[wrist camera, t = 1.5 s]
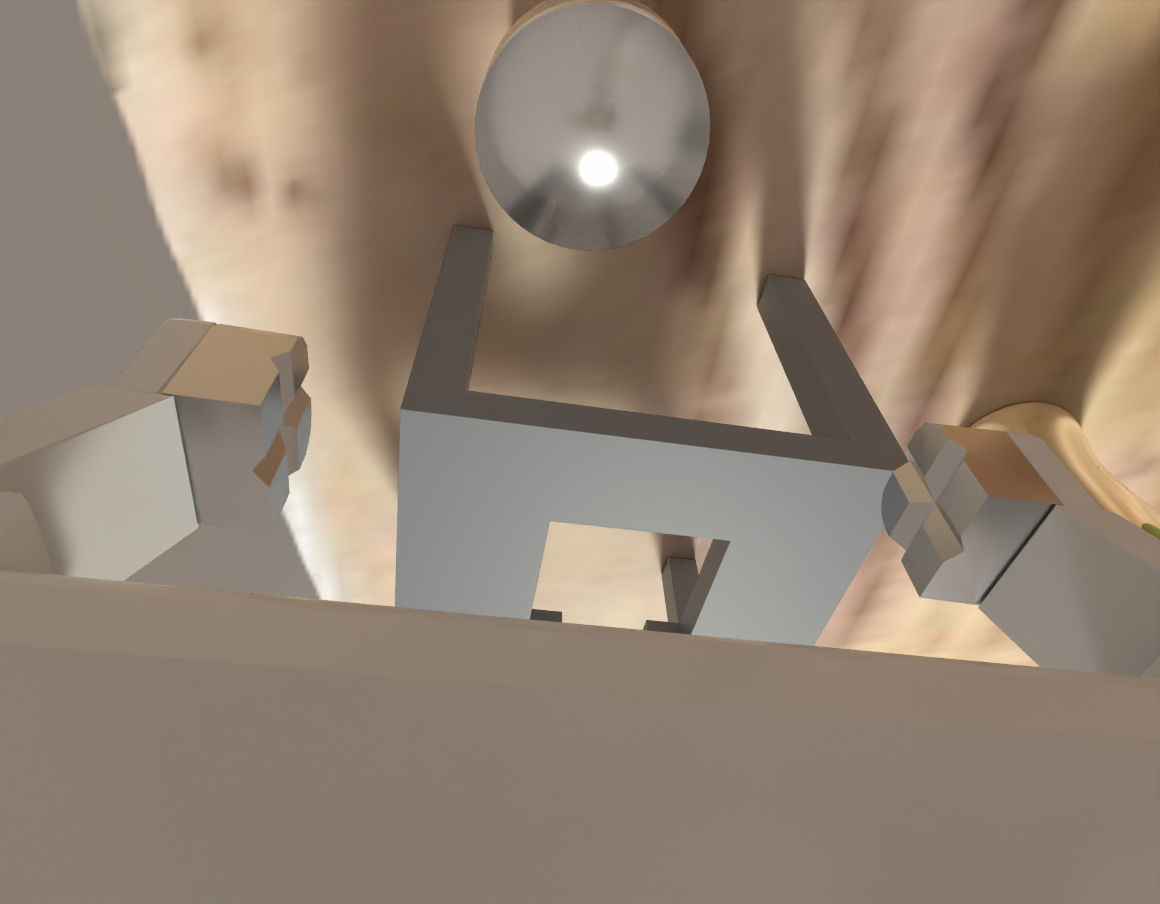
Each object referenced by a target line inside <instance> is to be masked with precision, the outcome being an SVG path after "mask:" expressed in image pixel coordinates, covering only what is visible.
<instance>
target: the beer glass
mask: <svg viewBox="0 0 1160 904" xmlns="http://www.w3.org/2000/svg"><path fill="white" fill-rule="evenodd" d="M969 428H979V429H988V430H998V431H1009V432H1019V433H1030V434H1032V435H1035V436H1037V437H1039V438H1041V439H1042V440H1043V441H1044V442H1045V443H1046V444H1047V446H1048V447H1049V448H1050V449H1051V450H1052V451H1053V453H1054V454H1055V455H1056V456H1057V457H1058V458H1059V460H1060V461H1061V462H1062V463H1063V464H1064V465H1065V467H1066V468H1067V469H1068V470H1069V471H1070V472H1071V474H1072V475H1073V476H1074V477H1075V478H1076V479H1077V481H1078V482H1079V483H1080V484H1081V485H1082V486H1083V488H1084V489H1085V490H1086V491H1087V492H1088V493H1089V495H1090V496H1091V497H1092V498H1093V499H1094V500H1095V501H1096V503H1097V504H1098V505H1099V506H1100V507H1101V508H1102V510H1103V511H1107V512H1114V513H1116V514H1118V515H1119V516H1121V517H1123V518H1125V519H1126V520H1128V521H1130V522H1131V523H1133V524H1135V525H1136V526H1138V527H1140V528H1141V529H1143V530H1145V531H1147V532H1148V533H1150V534H1152V535H1153V536H1155V537H1157V538H1158V539H1160V512H1159V511H1158V510H1156V509H1155V508H1154V507H1152V506H1151V505H1150V504H1148V503H1147V502H1145V501H1144V500H1143V499H1141V498H1140V497H1139V496H1137V495H1136V494H1135V493H1133V492H1132V491H1131V490H1129V489H1128V488H1127V487H1126V486H1124V485H1123V484H1122V483H1120V482H1119V481H1118V480H1117V479H1116V478H1115V477H1114V476H1113V475H1112V474H1111V473H1110V472H1108V471H1107V470H1106V469H1105V467H1104V466H1103V465H1102V464H1101V462H1100V461H1099V460H1098V458H1097V457H1096V455H1095V454H1094V452H1093V450H1092V448H1091V446H1090V444H1089V442H1088V440H1087V438H1086V437H1085V435H1084V433H1083V431H1082V429H1081V427H1080V425H1079V424H1078V422H1077V421H1076V420H1075V418H1074V417H1073V416H1072V415H1071V414H1070V413H1069V412H1067V411H1066V410H1064V409H1063V408H1061V407H1058V406H1056V405H1053V404H1049V403H1040V402H1031V403H1022V404H1016V405H1012V406H1008V407H1005V408H1002V409H999V410H997V411H995V412H992V413H990V414H988V415H986V416H985V417H983V418H981V419H980V420H978V421H977V422H975V423H974V424H973V425H971V426H970V427H969Z"/></svg>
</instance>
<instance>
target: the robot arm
mask: <svg viewBox="0 0 1160 904" xmlns="http://www.w3.org/2000/svg"><path fill="white" fill-rule="evenodd" d="M308 369H309V363H308V351H307V344H306V342H305V340H304V338H303V337H301V336H294V335H288V334H281V333H275V332H269V331H262V330H256V329H249V328H243V327H236V326H230V325H223V324H218V325H217V324H216V323H214V322H205V321H197V320H188V319H180V318H173V319H168V320H166V321H165V322H164V323H163V325H162V326H161V327H160V328H159V329H158V330H157V331H156V333H155V334H154V335H153V336H152V337H151V338H150V339H149V341H148V342H147V343H146V344H145V345H144V346H143V347H142V348H141V350H140V351H139V352H138V353H137V354H136V355H135V356H134V358H133V359H132V360H131V361H130V362H129V363H128V364H127V366H126V367H125V368H124V369H123V370H122V371H121V372H120V374H119V375H118V376H117V377H116V378H115V379H114V380H113V382H112V383H111V384H110V385H109V386H108V387H107V388H106V387H98V386H91V387H89V388H86V389H83V390H80V391H77V392H74V393H72V394H69V395H66V396H63V397H60V398H57V399H55V400H52V401H49V402H46V403H43V404H40V405H37V406H35V407H32V408H29V409H26V410H24V411H21V412H18V413H15V414H12V415H9V416H6V417H3V418H1V419H0V904H1160V539H1158V538H1157V537H1155V536H1153V535H1152V534H1150V533H1148V532H1147V531H1145V530H1143V529H1141V528H1140V527H1138V526H1136V525H1135V524H1133V523H1131V522H1130V521H1128V520H1126V519H1125V518H1123V517H1121V516H1119V515H1118V514H1116V513H1114V512H1107V511H1103V510H1102V508H1101V507H1100V506H1099V505H1098V504H1097V503H1096V501H1095V500H1094V499H1093V498H1092V497H1091V496H1090V495H1089V493H1088V492H1087V491H1086V490H1085V489H1084V488H1083V486H1082V485H1081V484H1080V483H1079V482H1078V481H1077V479H1076V478H1075V477H1074V476H1073V475H1072V474H1071V472H1070V471H1069V470H1068V469H1067V468H1066V467H1065V465H1064V464H1063V463H1062V462H1061V461H1060V460H1059V458H1058V457H1057V456H1056V455H1055V454H1054V453H1053V451H1052V450H1051V449H1050V448H1049V447H1048V446H1047V444H1046V443H1045V442H1044V441H1043V440H1042V439H1041V438H1039V437H1037V436H1035V435H1032V434H1030V433H1019V432H1009V431H998V430H988V429H979V428H969V427H960V426H951V425H942V424H932V423H925V424H924V425H923V426H921V427H920V428H919V429H918V430H917V431H916V432H915V433H914V435H913V437H912V439H911V440H910V442H909V444H908V445H907V450H908V454H909V458H910V461H909V462H907V463H906V464H904V465H902V466H901V467H899V468H898V469H896V470H895V471H893V472H892V474H891V476H890V478H889V480H888V482H887V484H886V486H885V488H884V490H883V497H882V504H881V513H882V519H883V524H884V526H885V528H886V530H887V533H888V535H889V537H890V538H892V539H893V540H894V541H895V542H897V543H898V544H899V545H900V546H902V547H903V548H904V549H905V553H904V555H903V557H902V560H901V561H902V563H903V565H904V567H905V569H906V571H907V573H908V575H909V577H910V579H911V581H912V583H913V585H914V587H915V589H916V591H917V593H918V595H919V597H920V598H928V599H935V600H943V601H951V602H958V603H966V604H973V605H980V606H979V607H978V608H979V609H980V610H981V611H982V612H983V613H984V614H985V615H986V616H987V617H988V618H989V619H990V620H991V621H992V622H993V623H995V624H996V625H997V626H998V627H999V628H1000V629H1001V630H1002V631H1003V632H1004V633H1005V634H1006V635H1007V636H1008V637H1009V638H1010V639H1011V640H1012V641H1013V642H1014V643H1015V644H1017V645H1018V646H1019V647H1020V648H1021V649H1022V650H1023V651H1024V652H1025V653H1026V654H1027V655H1028V656H1029V657H1030V658H1031V659H1032V660H1033V661H1034V662H1035V663H1036V664H1038V665H1039V666H1040V667H1031V666H1020V665H1010V664H999V663H989V662H978V661H967V660H957V659H946V658H936V657H925V656H914V655H904V654H893V653H883V652H872V651H861V650H851V649H840V648H830V647H819V646H808V645H797V644H787V643H776V642H765V641H754V640H743V639H732V638H721V637H710V636H700V635H689V634H679V633H668V632H657V631H647V630H636V629H626V628H615V627H604V626H594V625H583V624H572V623H562V622H551V621H541V620H530V619H519V618H509V617H498V616H488V615H477V614H466V613H456V612H445V611H434V610H424V609H413V608H403V607H392V606H381V605H371V604H360V603H350V602H339V601H328V600H318V599H307V598H296V597H286V596H275V595H265V594H254V593H243V592H232V591H222V590H221V591H220V590H212V589H201V588H190V587H180V586H169V585H158V584H147V583H137V582H127V581H124V580H125V579H126V578H128V577H129V576H131V575H132V574H134V573H135V572H136V571H138V570H139V569H141V568H142V567H143V566H145V565H146V564H147V563H149V562H150V561H152V560H153V559H154V558H156V557H157V556H159V555H160V554H162V553H163V552H165V551H166V550H167V549H168V548H170V547H172V546H173V545H174V544H176V543H177V542H178V541H180V540H181V539H183V538H184V537H186V536H187V535H189V534H190V533H191V532H193V531H194V530H196V529H197V528H198V524H205V525H218V526H231V527H243V528H256V529H269V530H273V529H274V527H275V524H276V522H277V520H278V518H279V516H280V513H281V511H282V509H283V506H284V504H285V502H286V500H287V497H288V495H289V479H288V475H290V474H292V473H294V472H295V471H297V470H299V469H300V467H301V465H302V462H303V460H304V457H305V455H306V451H307V446H308V441H309V436H310V430H311V398H310V397H309V396H308V394H307V393H306V392H305V391H304V390H303V388H302V387H301V384H302V382H303V380H304V378H305V376H306V374H307V371H308Z"/></svg>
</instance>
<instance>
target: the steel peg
mask: <svg viewBox="0 0 1160 904" xmlns="http://www.w3.org/2000/svg"><path fill="white" fill-rule="evenodd" d="M709 138H710V111H709V105H708V99H707V94H706V91H705V88H704V85H703V81H702V78H701V76H700V74H699V72H698V70H697V68H696V66H695V64H694V62H693V61H692V59H691V57H690V56H689V54H688V53H687V51H686V50H685V48H684V46H683V45H682V43H681V42H680V40H679V39H678V37H677V36H676V34H675V32H674V31H673V30H672V29H671V28H670V26H669V25H668V24H667V23H666V22H665V21H664V20H663V19H662V18H661V17H660V16H659V15H658V14H657V13H655V12H654V11H653V10H652V9H650V8H649V7H647V6H646V5H644V4H643V3H641V2H639V1H637V0H545V1H543V2H541V3H539V4H538V5H536V6H535V7H533V8H532V9H531V10H529V11H528V12H526V13H525V14H524V15H523V16H522V17H521V18H520V19H519V20H518V21H517V22H516V23H514V24H513V26H512V27H511V28H510V29H509V31H508V32H507V33H506V35H505V36H504V37H503V39H502V40H501V42H500V44H499V46H498V47H497V49H496V51H495V53H494V55H493V58H492V60H491V63H490V65H489V68H488V71H487V74H486V77H485V79H484V82H483V85H482V89H481V92H480V96H479V99H478V103H477V110H476V117H475V140H476V149H477V154H478V158H479V163H480V167H481V169H482V172H483V175H484V177H485V180H486V182H487V184H488V186H489V188H490V190H491V192H492V194H493V195H494V197H495V198H496V200H497V201H498V203H499V204H500V205H501V207H502V208H503V209H504V210H505V211H506V212H507V214H508V215H509V216H510V217H511V218H512V219H513V220H514V221H516V222H517V223H518V224H519V225H520V226H521V227H523V228H524V229H526V230H527V231H529V232H530V233H532V234H533V235H535V236H537V237H539V238H541V239H543V240H545V241H547V242H549V243H552V244H555V245H558V246H561V247H566V248H570V249H576V250H587V251H588V250H605V249H611V248H617V247H620V246H624V245H627V244H630V243H632V242H635V241H637V240H639V239H642V238H643V237H645V236H647V235H649V234H650V233H652V232H654V231H655V230H657V229H658V228H659V227H661V226H662V225H663V224H665V223H666V222H667V221H668V220H669V219H670V218H671V217H672V216H673V215H674V214H675V213H676V212H677V211H678V210H679V209H680V207H681V206H682V205H683V204H684V203H685V201H686V200H687V198H688V197H689V195H690V194H691V192H692V191H693V189H694V187H695V185H696V183H697V181H698V179H699V177H700V175H701V172H702V169H703V166H704V163H705V160H706V156H707V151H708V146H709Z"/></svg>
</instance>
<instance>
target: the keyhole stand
mask: <svg viewBox="0 0 1160 904" xmlns="http://www.w3.org/2000/svg"><path fill="white" fill-rule="evenodd" d="M492 238H493V231H490V230H484V229H478V228H471V227H465V226H458V225H453V228H452V232H451V235H450V239H449V242H448V246H447V249H446V253H445V256H444V260H443V263H442V267H441V270H440V274H439V277H438V280H437V284H436V287H435V291H434V294H433V298H432V301H431V305H430V308H429V312H428V315H427V319H426V322H425V326H424V329H423V333H422V336H421V339H420V343H419V346H418V350H417V353H416V357H415V360H414V364H413V367H412V371H411V374H410V378H409V381H408V385H407V388H406V392H405V395H404V398H403V402H402V405H401V409H400V442H399V478H398V514H397V550H396V586H395V607H403V608H413V609H424V610H434V611H445V612H456V613H466V614H477V615H488V616H498V617H509V618H519V619H530V620H541V621H551V622H562V612H557V611H547V610H536V609H532V606H533V601H534V596H535V592H536V587H537V582H538V577H539V572H540V567H541V562H542V557H543V552H544V547H545V542H546V538H547V533H548V528H549V523H550V521H555V522H564V523H573V524H582V525H591V526H600V527H609V528H618V529H627V530H637V531H646V532H655V533H664V534H673V535H682V536H691V537H700V538H709V539H713V541H712V543H711V546H710V548H709V551H708V553H707V556H706V558H705V561H704V563H703V566H702V568H701V571H700V573H699V575H698V570H697V565H696V560H690V559H681V558H671V557H668V560H667V563H666V566H665V568H664V571H663V574H662V581H663V588H664V595H665V603H666V610H667V617H668V622H662V621H652V620H646V623H645V625H644V628H643V630H647V631H657V632H668V633H679V634H689V635H700V636H710V637H721V638H732V639H743V640H754V641H765V642H776V643H787V644H797V645H808V646H814V644H815V643H816V641H817V639H818V638H819V636H820V634H821V633H822V631H823V629H824V628H825V626H826V624H827V623H828V621H829V619H830V617H831V616H832V614H833V612H834V611H835V609H836V607H837V606H838V604H839V602H840V601H841V599H842V597H843V596H844V594H845V592H846V591H847V589H848V587H849V585H850V584H851V582H852V580H853V579H854V577H855V575H856V574H857V572H858V570H859V569H860V567H861V565H862V564H863V562H864V560H865V558H866V557H867V555H868V553H869V552H870V550H871V548H872V547H873V545H874V543H875V542H876V540H877V538H878V537H879V535H880V533H881V532H882V530H883V528H884V524H883V519H882V513H881V504H882V497H883V490H884V488H885V486H886V484H887V482H888V480H889V478H890V476H891V474H892V472H893V471H895V470H896V469H898V468H899V467H901V466H902V465H904V464H906V463H907V462H909V461H908V459H907V458H906V456H905V454H904V452H903V451H902V449H901V447H900V445H899V444H898V442H897V440H896V438H895V437H894V435H893V433H892V431H891V430H890V428H889V426H888V424H887V423H886V421H885V419H884V417H883V416H882V414H881V412H880V410H879V409H878V407H877V405H876V403H875V402H874V400H873V398H872V396H871V395H870V393H869V391H868V389H867V388H866V386H865V384H864V383H863V381H862V379H861V377H860V376H859V374H858V372H857V370H856V369H855V367H854V365H853V363H852V362H851V360H850V358H849V356H848V355H847V353H846V351H845V349H844V348H843V346H842V344H841V342H840V341H839V339H838V337H837V335H836V334H835V332H834V330H833V328H832V327H831V325H830V323H829V321H828V320H827V318H826V316H825V314H824V313H823V311H822V309H821V307H820V306H819V304H818V302H817V300H816V299H815V297H814V295H813V293H812V292H811V290H810V288H809V286H808V285H807V283H806V281H805V280H803V279H797V278H791V277H784V276H778V275H772V274H769V276H768V278H767V281H766V284H765V287H764V290H763V293H762V295H761V298H760V301H759V304H758V307H757V308H758V311H759V313H760V315H761V318H762V320H763V322H764V325H765V327H766V329H767V332H768V334H769V336H770V338H771V341H772V343H773V345H774V348H775V350H776V352H777V355H778V357H779V359H780V362H781V364H782V366H783V369H784V371H785V373H786V376H787V378H788V380H789V382H790V385H791V387H792V389H793V392H794V394H795V396H796V399H797V401H798V403H799V406H800V408H801V410H802V413H803V415H804V417H805V420H806V422H807V424H808V426H809V429H810V431H811V433H812V435H805V434H797V433H790V432H782V431H774V430H767V429H759V428H751V427H744V426H736V425H728V424H720V423H713V422H705V421H697V420H690V419H682V418H674V417H667V416H659V415H651V414H643V413H636V412H628V411H620V410H613V409H605V408H597V407H590V406H582V405H574V404H566V403H559V402H551V401H543V400H536V399H528V398H520V397H513V396H505V395H497V394H489V393H482V392H474V391H468V389H469V383H470V377H471V372H472V366H473V360H474V354H475V348H476V343H477V337H478V331H479V325H480V319H481V313H482V308H483V302H484V296H485V290H486V284H487V279H488V273H489V267H490V257H491V247H492Z"/></svg>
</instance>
